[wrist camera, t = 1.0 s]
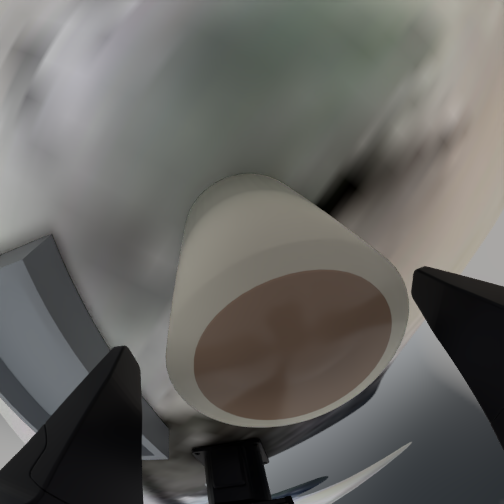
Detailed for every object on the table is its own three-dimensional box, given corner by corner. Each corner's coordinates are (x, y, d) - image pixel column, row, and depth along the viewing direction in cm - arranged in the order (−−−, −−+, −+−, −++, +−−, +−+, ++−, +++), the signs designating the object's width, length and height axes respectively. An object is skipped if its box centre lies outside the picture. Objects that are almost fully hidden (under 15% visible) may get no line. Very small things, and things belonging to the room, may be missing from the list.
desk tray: (168, 429, 19) (168, 459, 16) (66, 429, 18) (60, 453, 15) (51, 234, 11) (22, 259, 9) (-45, 277, 11) (-67, 298, 8)
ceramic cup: (313, 275, 15) (392, 390, 7) (203, 302, 14) (211, 444, 7) (300, 162, 12) (423, 212, 5) (169, 191, 12) (117, 286, 4)
